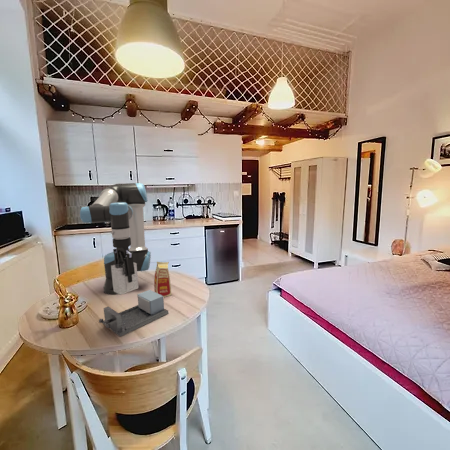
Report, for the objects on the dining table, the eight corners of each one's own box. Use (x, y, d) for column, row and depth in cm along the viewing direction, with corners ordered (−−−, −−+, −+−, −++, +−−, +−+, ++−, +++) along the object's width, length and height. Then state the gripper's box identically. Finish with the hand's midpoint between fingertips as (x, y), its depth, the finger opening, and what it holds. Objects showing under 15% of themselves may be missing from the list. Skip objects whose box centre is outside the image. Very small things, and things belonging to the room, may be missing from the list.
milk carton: (157, 298, 144) (155, 264, 140) (153, 292, 152) (151, 260, 148) (173, 295, 148) (171, 261, 144) (169, 289, 156) (167, 257, 152)
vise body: (95, 327, 116) (93, 309, 115) (150, 303, 138) (149, 289, 136) (111, 340, 106) (109, 322, 104) (168, 313, 127) (167, 297, 126)
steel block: (113, 291, 116) (110, 265, 114) (131, 284, 123) (129, 260, 121) (119, 294, 112) (117, 268, 110) (138, 288, 119) (136, 263, 117)
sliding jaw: (137, 307, 130) (136, 294, 128) (150, 302, 135) (149, 289, 134) (151, 315, 122) (150, 301, 121) (164, 309, 127) (163, 296, 126)
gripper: (103, 236, 117) (108, 284, 121) (124, 242, 104) (128, 295, 108) (119, 233, 122) (123, 279, 126) (140, 238, 110) (144, 289, 114)
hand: (126, 286), depth 117 cm, fingers closed on steel block, 6 cm apart
